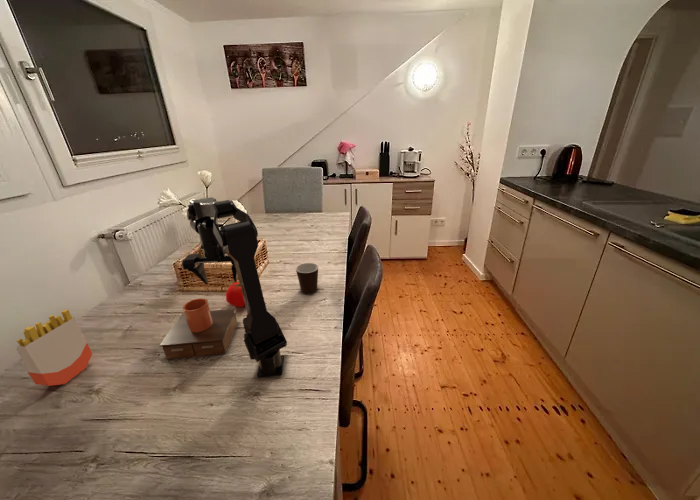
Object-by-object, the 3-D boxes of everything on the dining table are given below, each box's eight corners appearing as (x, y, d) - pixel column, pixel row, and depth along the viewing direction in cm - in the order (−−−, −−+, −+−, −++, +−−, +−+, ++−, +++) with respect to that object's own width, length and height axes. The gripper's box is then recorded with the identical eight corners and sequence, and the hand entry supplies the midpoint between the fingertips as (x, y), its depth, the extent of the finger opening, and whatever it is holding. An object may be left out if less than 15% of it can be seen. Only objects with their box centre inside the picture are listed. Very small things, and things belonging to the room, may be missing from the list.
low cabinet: (226, 355, 80) (222, 340, 78) (164, 361, 78) (158, 346, 76) (239, 322, 94) (236, 308, 92) (186, 327, 92) (182, 313, 90)
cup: (208, 331, 82) (202, 309, 79) (185, 333, 81) (178, 312, 78) (215, 317, 88) (210, 297, 85) (194, 319, 87) (188, 299, 84)
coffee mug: (316, 296, 107) (314, 273, 103) (295, 294, 109) (292, 272, 105) (324, 281, 118) (323, 260, 114) (305, 280, 119) (303, 259, 115)
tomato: (224, 303, 105) (220, 283, 101) (251, 293, 111) (247, 274, 107) (233, 314, 98) (228, 294, 95) (261, 303, 104) (257, 283, 101)
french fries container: (38, 390, 71) (1, 333, 63) (82, 358, 80) (54, 306, 73) (53, 392, 70) (18, 335, 63) (96, 360, 80) (69, 307, 73)
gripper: (247, 228, 95) (255, 269, 101) (190, 232, 93) (201, 273, 99) (239, 240, 84) (248, 285, 91) (174, 244, 83) (188, 290, 89)
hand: (221, 282), depth 93 cm, fingers open, 9 cm apart
